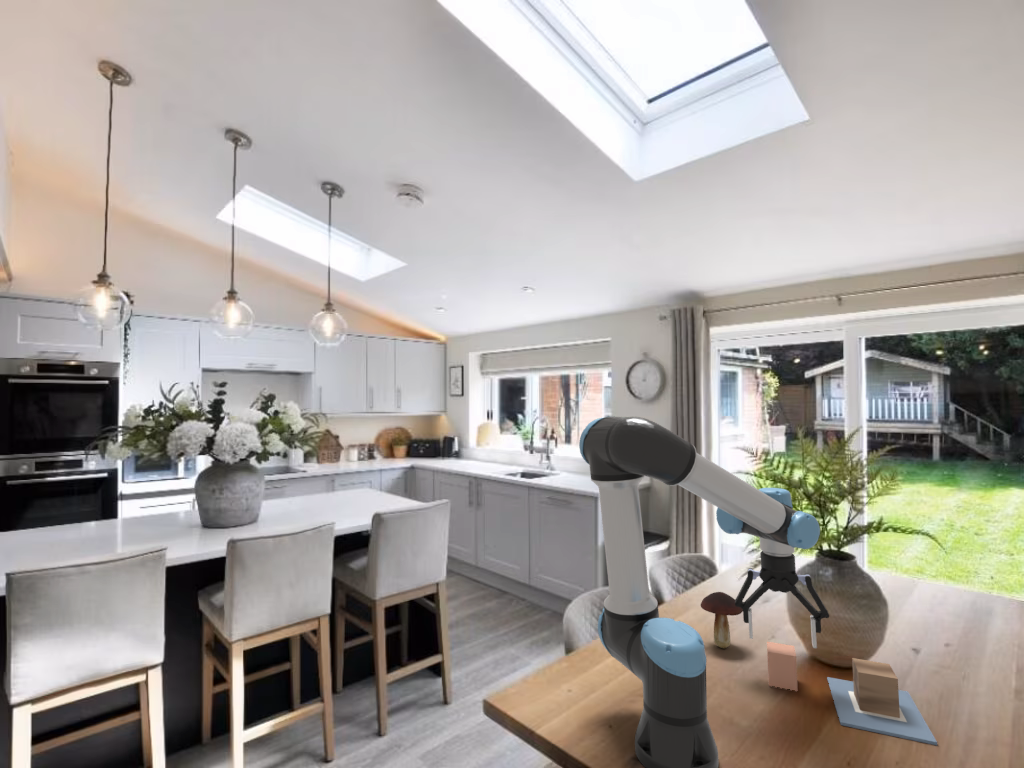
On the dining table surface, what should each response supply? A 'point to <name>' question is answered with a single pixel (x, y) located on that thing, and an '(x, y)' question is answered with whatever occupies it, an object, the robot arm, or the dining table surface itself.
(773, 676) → the terracotta block
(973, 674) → the dining table surface
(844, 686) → the board
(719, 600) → the decorative mushroom
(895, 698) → the walnut block
